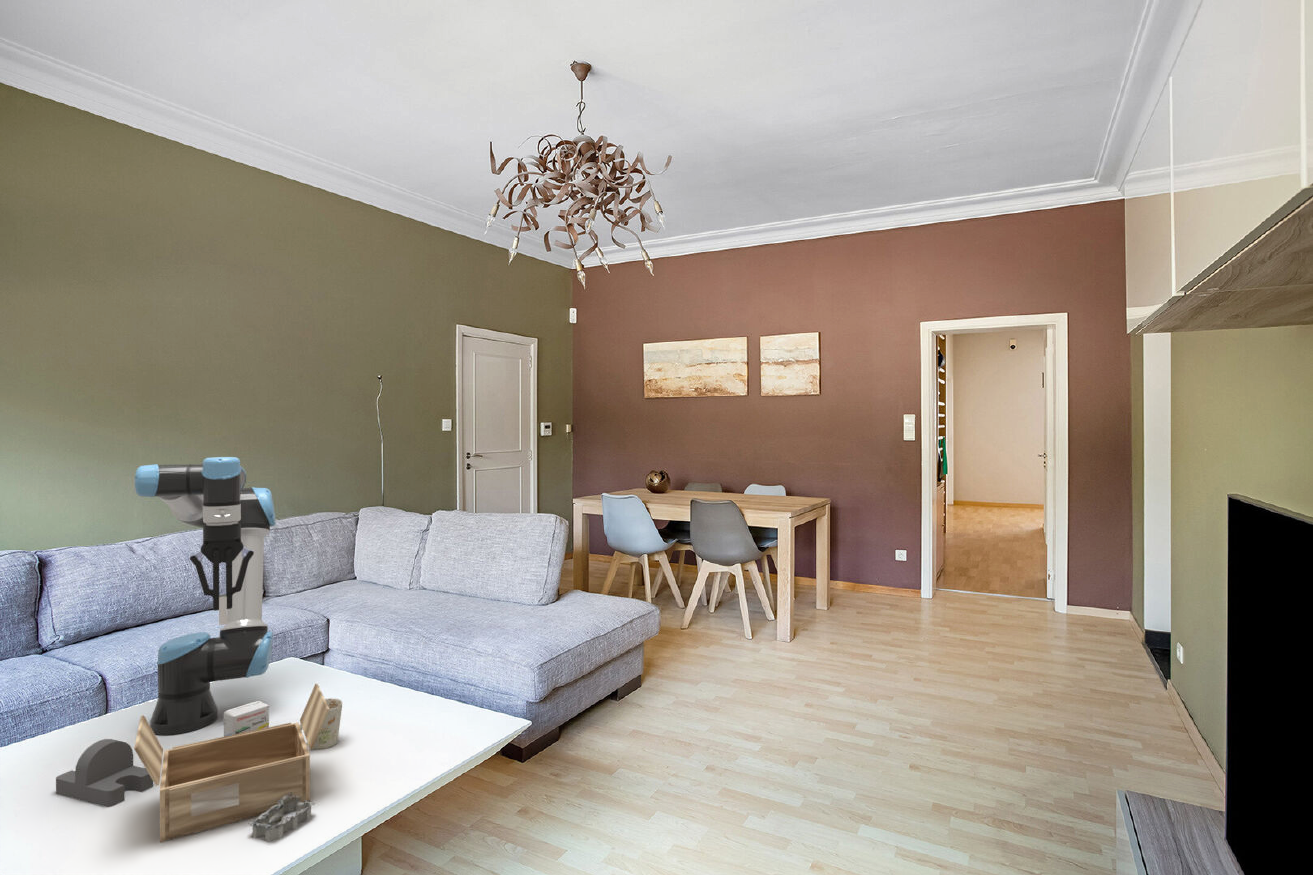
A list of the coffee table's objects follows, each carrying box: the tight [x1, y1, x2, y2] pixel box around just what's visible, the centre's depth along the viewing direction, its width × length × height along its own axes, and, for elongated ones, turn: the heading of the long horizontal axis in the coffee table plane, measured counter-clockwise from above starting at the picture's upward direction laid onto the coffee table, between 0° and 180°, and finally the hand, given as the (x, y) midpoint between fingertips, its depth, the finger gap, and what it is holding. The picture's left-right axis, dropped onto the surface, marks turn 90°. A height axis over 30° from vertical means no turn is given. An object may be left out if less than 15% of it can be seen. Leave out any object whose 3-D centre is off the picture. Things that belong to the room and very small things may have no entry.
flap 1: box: [133, 714, 164, 787], centre depth 139 cm, size 18×9×1 cm
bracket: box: [55, 738, 154, 808], centre depth 152 cm, size 10×18×11 cm, turn 71°
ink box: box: [223, 700, 270, 737], centre depth 168 cm, size 8×5×12 cm, turn 147°
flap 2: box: [299, 683, 329, 751], centre depth 156 cm, size 18×9×1 cm
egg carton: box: [247, 792, 316, 842], centre depth 138 cm, size 11×8×4 cm
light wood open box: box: [159, 721, 311, 843], centre depth 148 cm, size 22×26×10 cm
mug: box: [299, 698, 343, 750], centre depth 172 cm, size 8×13×10 cm, turn 161°
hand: (222, 623), depth 161 cm, fingers closed
